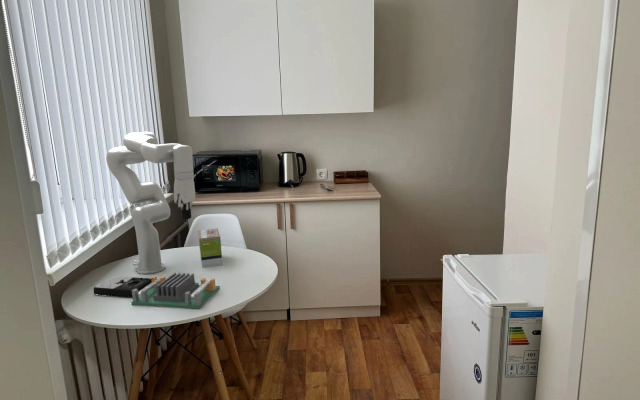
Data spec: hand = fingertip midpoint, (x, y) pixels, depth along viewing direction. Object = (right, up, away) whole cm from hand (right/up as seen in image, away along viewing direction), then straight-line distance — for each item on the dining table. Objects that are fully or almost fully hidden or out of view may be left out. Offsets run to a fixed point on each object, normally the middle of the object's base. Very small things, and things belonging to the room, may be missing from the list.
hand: (186, 218), depth 183 cm
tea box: (+2, -23, +32) cm, 39 cm away
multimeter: (-26, -31, 0) cm, 40 cm away
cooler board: (-1, -31, -9) cm, 32 cm away
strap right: (+9, -28, -13) cm, 32 cm away
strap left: (-12, -28, -8) cm, 32 cm away
